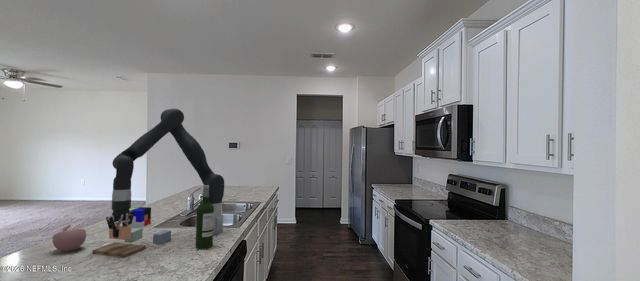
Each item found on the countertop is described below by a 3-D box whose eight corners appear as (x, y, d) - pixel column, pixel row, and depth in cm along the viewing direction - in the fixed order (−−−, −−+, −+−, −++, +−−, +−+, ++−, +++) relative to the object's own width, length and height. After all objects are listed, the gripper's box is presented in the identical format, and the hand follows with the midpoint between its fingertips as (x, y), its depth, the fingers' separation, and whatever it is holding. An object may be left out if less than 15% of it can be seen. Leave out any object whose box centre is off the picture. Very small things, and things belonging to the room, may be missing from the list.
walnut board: (145, 248, 148) (145, 245, 148) (124, 257, 136) (124, 254, 136) (115, 245, 152) (115, 242, 152) (92, 253, 140) (92, 250, 140)
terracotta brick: (130, 237, 145) (131, 226, 145) (123, 240, 141) (124, 228, 141) (116, 235, 147) (116, 225, 147) (108, 238, 143) (109, 227, 143)
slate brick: (164, 239, 163) (164, 229, 163) (170, 240, 162) (171, 230, 162) (152, 244, 155) (153, 234, 155) (159, 245, 154) (160, 234, 154)
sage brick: (135, 237, 165) (135, 227, 165) (142, 237, 165) (142, 228, 165) (124, 242, 157) (125, 232, 157) (132, 242, 157) (132, 232, 157)
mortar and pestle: (81, 244, 151) (82, 220, 151) (89, 250, 144) (90, 225, 144) (49, 250, 142) (50, 225, 142) (55, 257, 134) (56, 230, 134)
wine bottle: (207, 250, 149) (209, 187, 149) (192, 248, 150) (194, 186, 151) (215, 244, 156) (217, 184, 157) (201, 243, 158) (203, 184, 158)
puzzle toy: (140, 228, 183) (141, 210, 183) (124, 227, 183) (124, 210, 183) (150, 223, 193) (151, 207, 193) (134, 223, 193) (135, 206, 193)
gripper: (115, 202, 136) (113, 241, 136) (140, 196, 150) (139, 232, 150) (101, 200, 138) (99, 239, 138) (127, 195, 152) (126, 231, 152)
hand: (120, 235), depth 144 cm, fingers closed on terracotta brick, 4 cm apart
